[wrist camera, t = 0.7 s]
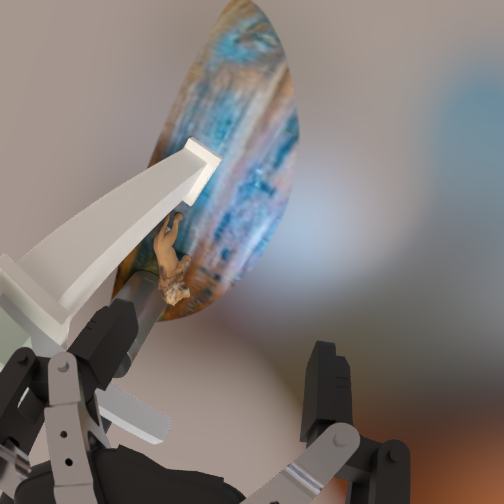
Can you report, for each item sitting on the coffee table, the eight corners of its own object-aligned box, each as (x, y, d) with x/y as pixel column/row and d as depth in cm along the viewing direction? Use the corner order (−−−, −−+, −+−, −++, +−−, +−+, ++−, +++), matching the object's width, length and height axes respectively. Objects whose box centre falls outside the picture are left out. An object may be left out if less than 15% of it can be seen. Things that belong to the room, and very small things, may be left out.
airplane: (151, 429, 18) (120, 502, 12) (6, 323, 16) (-41, 383, 10) (191, 409, 14) (150, 519, 8) (-5, 261, 12) (-78, 338, 5)
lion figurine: (204, 276, 52) (186, 310, 44) (179, 277, 53) (159, 309, 45) (179, 201, 44) (153, 226, 37) (152, 206, 46) (124, 231, 38)
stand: (194, 204, 44) (59, 372, 17) (164, 182, 43) (6, 325, 16) (224, 158, 39) (62, 321, 12) (191, 136, 38) (-6, 256, 11)
